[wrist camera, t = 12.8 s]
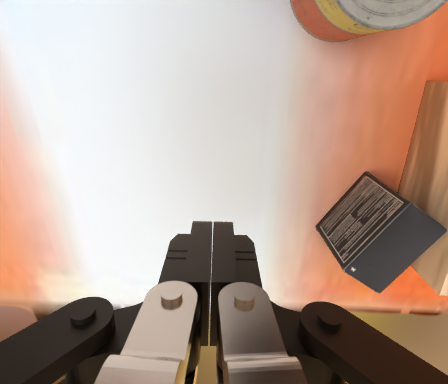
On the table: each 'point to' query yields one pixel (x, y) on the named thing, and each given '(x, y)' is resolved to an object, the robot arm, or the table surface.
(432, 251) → the maple board
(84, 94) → the table surface
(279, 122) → the table surface
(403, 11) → the canned food
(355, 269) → the small box
